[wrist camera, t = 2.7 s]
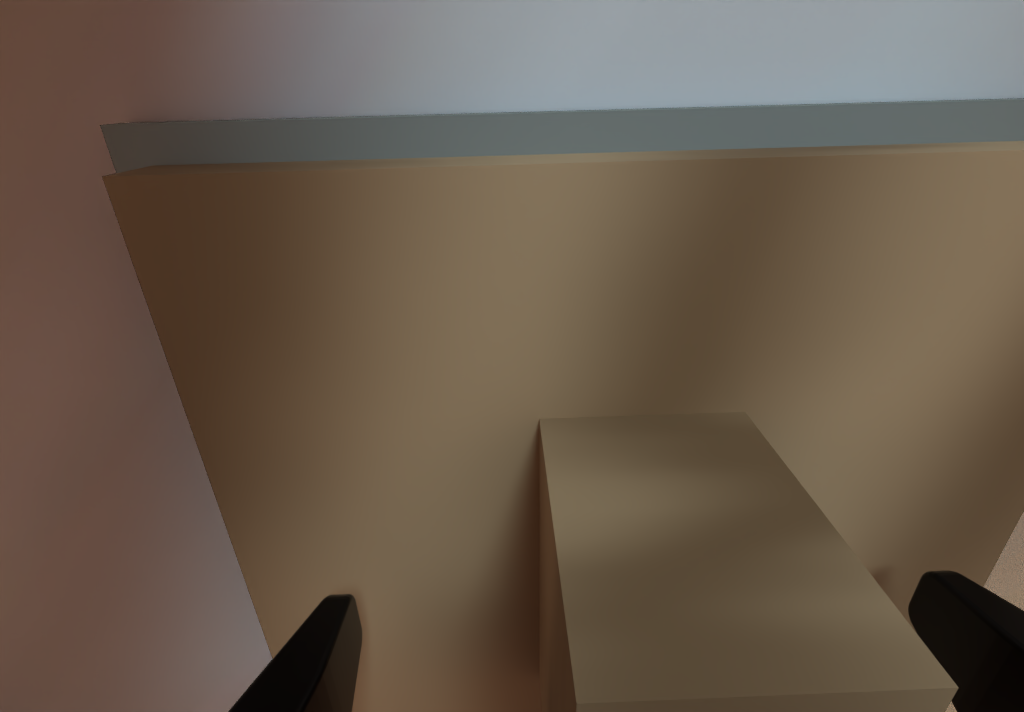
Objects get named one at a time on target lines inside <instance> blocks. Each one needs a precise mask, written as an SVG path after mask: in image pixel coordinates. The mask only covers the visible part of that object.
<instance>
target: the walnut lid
mask: <svg viewBox="0 0 1024 712" xmlns="http://www.w3.org/2000/svg"><path fill="white" fill-rule="evenodd" d="M102 178H103V181H104V184H105V186H106V189H107V192H108V195H109V198H110V201H111V203H112V206H113V209H114V212H115V215H116V217H117V220H118V223H119V226H120V229H121V232H122V234H123V237H124V240H125V243H126V246H127V249H128V251H129V254H130V257H131V260H132V263H133V266H134V268H135V271H136V274H137V277H138V280H139V283H140V285H141V288H142V291H143V294H144V297H145V299H146V302H147V305H148V308H149V311H150V314H151V316H152V319H153V322H154V325H155V328H156V331H157V333H158V336H159V339H160V342H161V345H162V348H163V350H164V353H165V356H166V359H167V362H168V365H169V367H170V370H171V373H172V376H173V379H174V381H175V384H176V387H177V390H178V393H179V396H180V398H181V401H182V404H183V407H184V410H185V413H186V415H187V418H188V421H189V424H190V427H191V430H192V432H193V435H194V438H195V441H196V444H197V446H198V449H199V452H200V455H201V458H202V461H203V463H204V466H205V469H206V472H207V475H208V478H209V480H210V483H211V486H212V489H213V492H214V495H215V497H216V500H217V503H218V506H219V509H220V512H221V514H222V517H223V520H224V523H225V526H226V528H227V531H228V534H229V537H230V540H231V543H232V545H233V548H234V551H235V554H236V557H237V560H238V562H239V565H240V568H241V571H242V574H243V577H244V579H245V582H246V585H247V588H248V591H249V594H250V596H251V599H252V602H253V605H254V608H255V610H256V613H257V616H258V619H259V622H260V625H261V627H262V630H263V633H264V636H265V639H266V642H267V644H268V647H269V650H270V653H271V656H272V659H273V658H274V657H275V656H276V654H277V653H278V652H279V651H280V650H281V649H282V647H283V646H284V645H285V644H286V643H287V641H288V640H289V639H290V638H291V637H292V635H293V634H294V633H295V632H296V631H297V630H298V628H299V627H300V626H301V625H302V624H303V622H304V621H305V620H306V619H307V618H308V616H309V615H310V614H311V613H312V612H313V611H314V609H315V608H316V607H317V606H318V605H319V603H320V602H321V601H322V600H323V599H324V598H325V597H327V596H328V595H336V594H351V595H353V596H354V598H355V600H356V604H357V609H358V613H359V617H360V622H361V626H362V646H361V653H360V660H359V667H358V673H357V680H356V687H355V693H354V700H353V707H352V712H945V711H946V709H947V707H948V706H949V704H950V702H951V700H952V699H953V697H954V695H955V693H956V692H957V690H958V686H957V685H956V684H955V682H954V681H953V680H952V678H951V677H950V676H949V675H948V673H947V672H946V671H945V669H944V668H943V667H942V666H941V664H940V663H939V662H938V660H937V659H936V658H935V657H934V655H933V654H932V653H931V651H930V650H929V649H928V647H927V646H926V645H925V644H924V642H923V641H922V640H921V638H920V637H919V636H918V635H917V633H916V631H915V629H914V627H913V625H912V623H911V621H910V618H909V613H908V606H909V603H910V600H911V598H912V596H913V594H914V592H915V589H916V587H917V585H918V583H919V580H920V578H921V576H922V575H923V574H924V573H926V572H928V571H944V570H949V571H955V572H958V573H960V574H962V575H963V576H965V577H967V578H969V579H970V580H972V581H974V582H975V583H977V584H979V585H980V586H982V587H983V586H984V584H985V582H986V581H987V579H988V577H989V575H990V573H991V571H992V569H993V567H994V566H995V564H996V562H997V560H998V558H999V556H1000V554H1001V552H1002V551H1003V549H1004V547H1005V545H1006V543H1007V541H1008V539H1009V537H1010V536H1011V534H1012V532H1013V530H1014V528H1015V526H1016V524H1017V522H1018V521H1019V519H1020V517H1021V515H1022V513H1023V511H1024V141H997V142H962V143H927V144H892V145H857V146H822V147H786V148H751V149H716V150H681V151H646V152H611V153H575V154H540V155H505V156H470V157H435V158H400V159H364V160H329V161H294V162H259V163H224V164H189V165H153V166H148V167H144V168H139V169H134V170H130V171H125V172H121V173H116V174H111V175H107V176H102Z"/></svg>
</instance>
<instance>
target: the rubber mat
mask: <svg viewBox="0 0 1024 712" xmlns="http://www.w3.org/2000/svg"><path fill="white" fill-rule="evenodd" d="M100 126H101V129H102V132H103V135H104V138H105V141H106V144H107V147H108V150H109V153H110V156H111V159H112V162H113V165H114V167H115V170H116V173H121V172H125V171H130V170H134V169H139V168H144V167H148V166H153V165H189V164H224V163H259V162H294V161H329V160H364V159H400V158H435V157H470V156H505V155H540V154H575V153H611V152H646V151H681V150H716V149H751V148H786V147H822V146H857V145H892V144H927V143H962V142H997V141H1024V98H1017V99H980V100H944V101H907V102H871V103H834V104H798V105H761V106H725V107H688V108H652V109H615V110H579V111H542V112H506V113H469V114H433V115H396V116H359V117H323V118H286V119H250V120H213V121H177V122H140V123H118V124H107V125H100Z"/></svg>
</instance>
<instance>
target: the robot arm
mask: <svg viewBox="0 0 1024 712" xmlns="http://www.w3.org/2000/svg"><path fill="white" fill-rule="evenodd" d="M908 613H909V618H910V621H911V623H912V625H913V627H914V629H915V631H916V633H917V635H918V636H919V637H920V638H921V640H922V641H923V642H924V644H925V645H926V646H927V647H928V649H929V650H930V651H931V653H932V654H933V655H934V657H935V658H936V659H937V660H938V662H939V663H940V664H941V666H942V667H943V668H944V669H945V671H946V672H947V673H948V675H949V676H950V677H951V678H952V680H953V681H954V682H955V684H956V685H957V686H958V690H957V692H956V693H955V695H954V697H953V699H952V700H951V701H952V703H953V705H954V707H955V709H956V710H957V712H1024V611H1023V610H1021V609H1020V608H1018V607H1016V606H1015V605H1013V604H1011V603H1009V602H1008V601H1006V600H1004V599H1003V598H1001V597H999V596H997V595H996V594H994V593H992V592H991V591H989V590H987V589H986V588H984V587H982V586H980V585H979V584H977V583H975V582H974V581H972V580H970V579H969V578H967V577H965V576H963V575H962V574H960V573H958V572H955V571H949V570H944V571H928V572H926V573H924V574H923V575H922V576H921V578H920V580H919V583H918V585H917V587H916V589H915V592H914V594H913V596H912V598H911V600H910V603H909V606H908ZM361 646H362V626H361V622H360V617H359V613H358V609H357V604H356V600H355V598H354V596H353V595H351V594H336V595H328V596H327V597H325V598H324V599H323V600H322V601H321V602H320V603H319V605H318V606H317V607H316V608H315V609H314V611H313V612H312V613H311V614H310V615H309V616H308V618H307V619H306V620H305V621H304V622H303V624H302V625H301V626H300V627H299V628H298V630H297V631H296V632H295V633H294V634H293V635H292V637H291V638H290V639H289V640H288V641H287V643H286V644H285V645H284V646H283V647H282V649H281V650H280V651H279V652H278V653H277V654H276V656H275V657H274V658H273V659H272V660H271V662H270V663H269V664H268V665H267V666H266V668H265V669H264V670H263V671H262V672H261V673H260V675H259V676H258V677H257V678H256V679H255V681H254V682H253V683H252V684H251V685H250V687H249V688H248V689H247V690H246V691H245V692H244V694H243V695H242V696H241V697H240V698H239V700H238V701H237V702H236V703H235V704H234V706H233V707H232V708H231V709H230V710H229V711H228V712H352V707H353V700H354V693H355V687H356V680H357V673H358V667H359V660H360V653H361Z"/></svg>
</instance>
